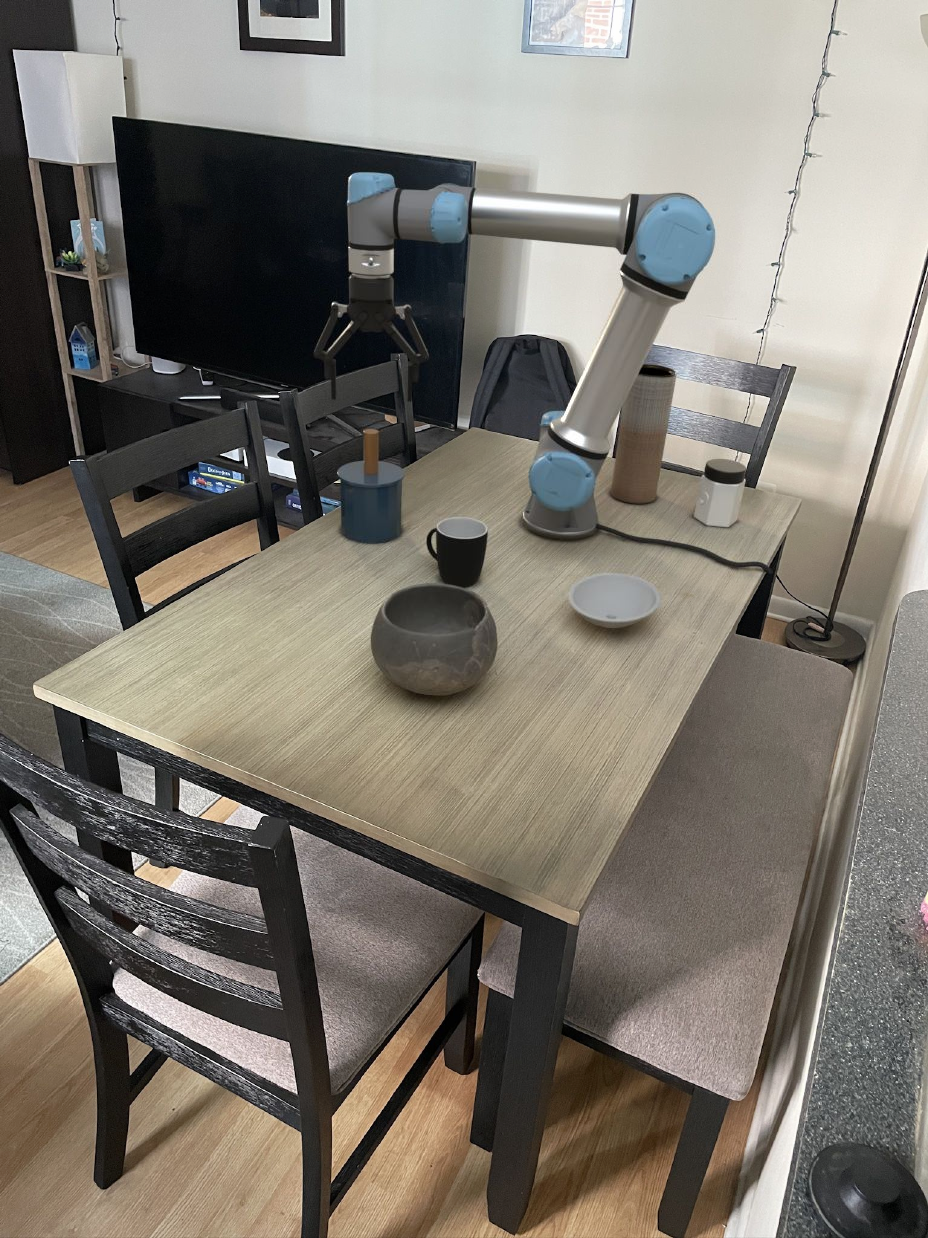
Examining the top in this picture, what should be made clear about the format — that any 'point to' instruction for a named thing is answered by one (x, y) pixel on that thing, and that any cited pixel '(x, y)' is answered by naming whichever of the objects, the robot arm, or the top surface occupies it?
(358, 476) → the lid
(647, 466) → the vase
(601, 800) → the top surface
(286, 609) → the top surface
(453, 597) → the bowl
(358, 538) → the blue cylindrical container
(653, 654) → the top surface
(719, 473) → the jar
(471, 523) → the mug
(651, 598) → the dish
